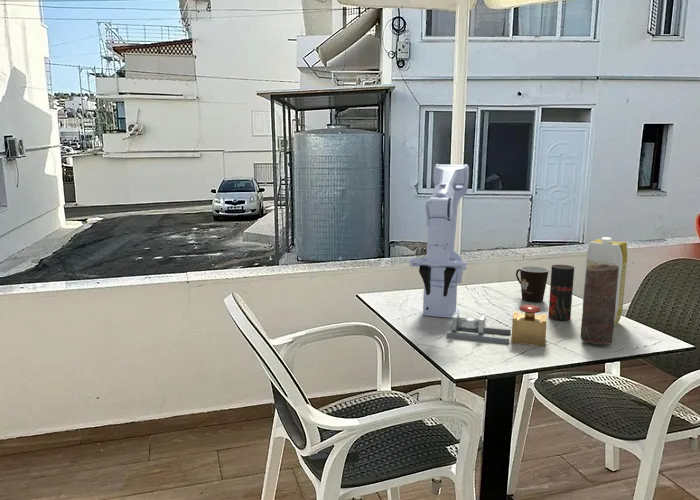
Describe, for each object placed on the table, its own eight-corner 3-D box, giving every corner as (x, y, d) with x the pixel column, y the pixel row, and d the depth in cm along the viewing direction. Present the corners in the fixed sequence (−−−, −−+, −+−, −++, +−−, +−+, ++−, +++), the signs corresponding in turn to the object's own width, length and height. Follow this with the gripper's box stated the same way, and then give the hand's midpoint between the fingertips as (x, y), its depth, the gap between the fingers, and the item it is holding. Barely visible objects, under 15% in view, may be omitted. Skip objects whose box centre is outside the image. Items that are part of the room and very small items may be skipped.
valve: (511, 342, 141) (513, 309, 140) (512, 334, 147) (514, 302, 146) (545, 346, 139) (547, 312, 137) (544, 338, 145) (547, 305, 143)
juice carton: (578, 321, 158) (585, 236, 153) (589, 315, 164) (596, 233, 159) (613, 329, 152) (621, 241, 147) (623, 322, 157) (631, 237, 153)
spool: (451, 335, 147) (451, 317, 146) (454, 329, 151) (454, 311, 150) (482, 339, 144) (483, 320, 143) (484, 333, 149) (485, 314, 148)
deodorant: (572, 322, 158) (576, 269, 155) (549, 320, 159) (553, 268, 156) (568, 315, 163) (572, 265, 160) (546, 314, 164) (550, 264, 162)
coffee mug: (550, 303, 175) (552, 272, 174) (522, 303, 176) (524, 272, 174) (538, 293, 187) (540, 264, 185) (512, 293, 187) (514, 264, 185)
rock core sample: (609, 351, 136) (616, 269, 132) (577, 345, 140) (583, 266, 136) (614, 341, 142) (621, 263, 138) (582, 336, 146) (589, 260, 142)
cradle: (446, 337, 145) (446, 332, 145) (451, 327, 153) (451, 323, 153) (508, 343, 141) (509, 339, 140) (510, 333, 148) (510, 329, 148)
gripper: (407, 244, 144) (406, 296, 147) (464, 248, 140) (462, 301, 142) (413, 240, 151) (412, 289, 153) (468, 243, 146) (466, 294, 149)
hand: (436, 294), depth 148 cm, fingers open, 4 cm apart
